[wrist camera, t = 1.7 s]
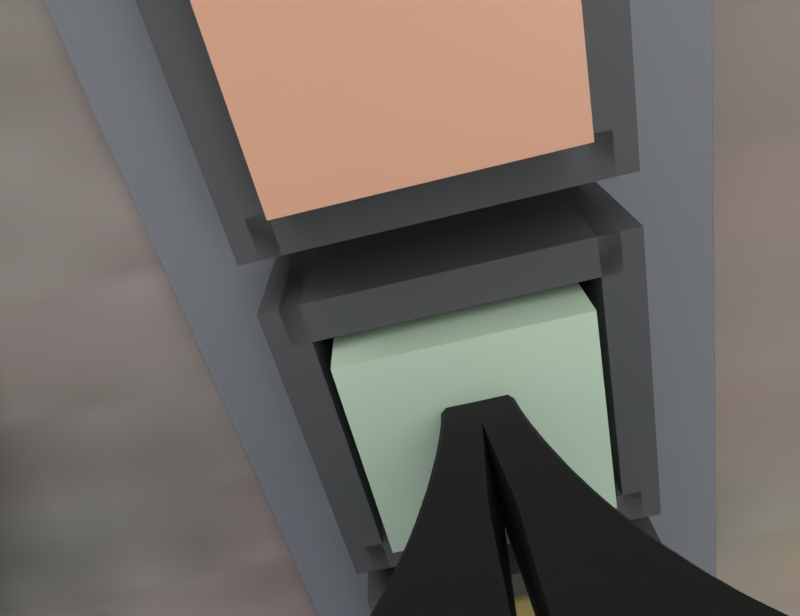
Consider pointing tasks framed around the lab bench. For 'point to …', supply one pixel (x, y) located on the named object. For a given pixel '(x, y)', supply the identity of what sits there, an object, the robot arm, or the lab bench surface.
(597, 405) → the sage button
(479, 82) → the terracotta button
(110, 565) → the lab bench surface
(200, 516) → the lab bench surface
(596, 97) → the button panel
